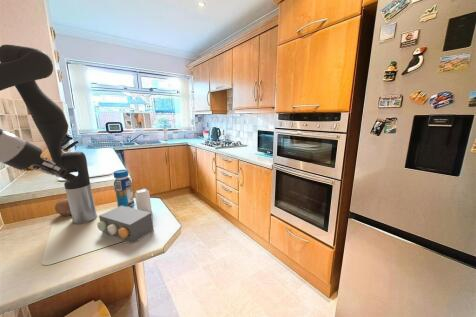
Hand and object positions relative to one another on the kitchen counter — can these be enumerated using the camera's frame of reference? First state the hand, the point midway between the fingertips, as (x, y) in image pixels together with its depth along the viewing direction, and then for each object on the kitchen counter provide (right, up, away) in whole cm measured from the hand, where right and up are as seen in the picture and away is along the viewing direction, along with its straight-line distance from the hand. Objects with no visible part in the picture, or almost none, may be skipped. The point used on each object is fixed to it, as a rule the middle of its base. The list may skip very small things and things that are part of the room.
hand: (73, 179), depth 66 cm
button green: (+1, -22, +16) cm, 27 cm away
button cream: (+7, -23, +13) cm, 27 cm away
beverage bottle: (-6, -19, +42) cm, 47 cm away
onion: (-31, -22, +34) cm, 51 cm away
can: (+8, -21, +34) cm, 41 cm away
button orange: (+13, -23, +10) cm, 28 cm away
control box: (+9, -24, +17) cm, 31 cm away
